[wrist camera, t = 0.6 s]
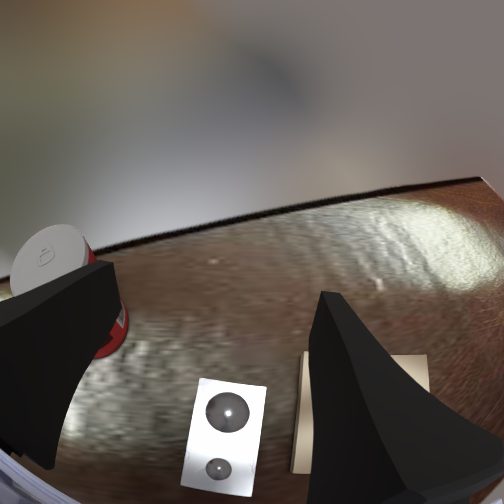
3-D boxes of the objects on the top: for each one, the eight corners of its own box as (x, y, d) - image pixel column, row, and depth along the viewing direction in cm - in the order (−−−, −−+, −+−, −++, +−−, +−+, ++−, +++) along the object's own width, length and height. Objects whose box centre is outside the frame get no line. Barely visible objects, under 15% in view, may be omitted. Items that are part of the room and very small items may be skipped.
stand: (420, 459, 17) (429, 459, 16) (289, 471, 18) (292, 473, 17) (418, 359, 24) (426, 354, 23) (300, 356, 25) (304, 351, 23)
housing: (248, 484, 17) (251, 499, 12) (194, 475, 17) (177, 486, 12) (260, 400, 22) (267, 384, 17) (208, 392, 22) (198, 374, 17)
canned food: (102, 280, 29) (62, 210, 20) (146, 324, 26) (104, 255, 17) (56, 324, 25) (-1, 264, 16) (94, 375, 22) (27, 328, 13)
